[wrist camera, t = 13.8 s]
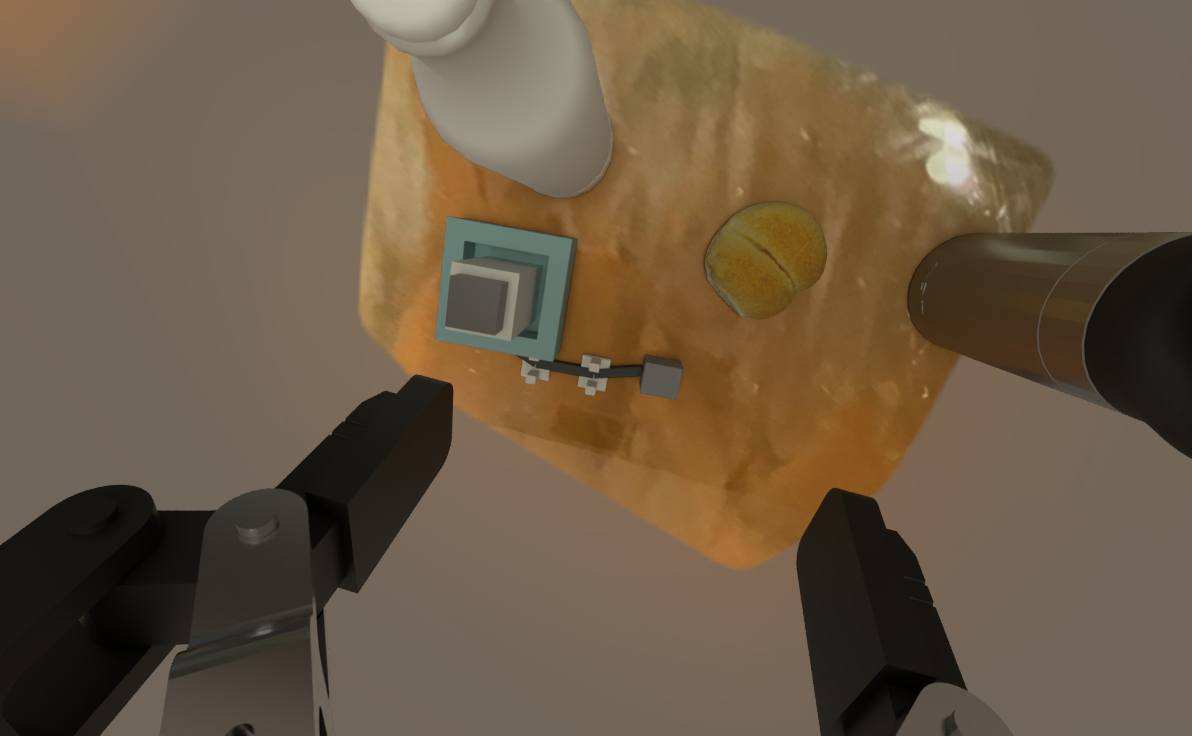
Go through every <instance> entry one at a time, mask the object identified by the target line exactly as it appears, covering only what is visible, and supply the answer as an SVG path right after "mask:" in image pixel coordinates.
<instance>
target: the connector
mask: <svg viewBox="0 0 1192 736" xmlns="http://www.w3.org/2000/svg"><path fill="white" fill-rule="evenodd" d="M542 270H543V266H542V265H536V264H531V263H525V262H520V261H514V260H509V259H503V258H498V257H492V256H485V257H478V258H471V259H465V260H458V261H452V263H451V273H450V281H449V291H448V301H447V311H446V321H445V329H447V330H453V331H458V332H464V333H469V334H474V335H480V336H485V337H491V338H496V339H502V340H507V341H512V340H513V339H514V338H515V337H516V336H517V335H519V334H520V333H521V332H522V331H523V330H524V329H525V328H527V327H528V326H529V325H530V324H531V323H532V322H534V321H535V318H536V311H537V305H538V298H539V291H540V284H541V277H542Z"/></svg>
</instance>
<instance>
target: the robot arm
mask: <svg viewBox="0 0 1192 736" xmlns="http://www.w3.org/2000/svg"><path fill="white" fill-rule="evenodd" d="M908 307H909V311H910V316H911V319H912V321H913V323H914V325H915V327H916V329H917V330H918V331H919V332H920V333H921V334H922V335H923V337H925V338H926V339H928V340H929V341H930V342H932V343H933V344H936V345H938V346H941V347H943V348H946V349H948V350H951V351H954V352H956V353H959V354H962V355H964V356H966V357H970V358H972V359H975V360H977V361H980V362H983V363H985V364H988V365H991V366H994V367H996V368H999V369H1002V370H1004V371H1007V372H1010V373H1013V374H1015V375H1018V376H1021V377H1023V378H1026V379H1029V380H1031V381H1034V382H1037V383H1040V384H1042V385H1045V386H1048V387H1050V388H1053V389H1056V390H1059V391H1061V392H1064V393H1067V394H1069V395H1072V396H1075V397H1078V398H1081V399H1084V400H1087V401H1089V402H1092V403H1095V404H1097V405H1100V406H1103V407H1106V408H1108V409H1111V410H1114V411H1117V412H1119V413H1122V414H1125V415H1128V416H1130V417H1133V418H1135V419H1138V420H1141V421H1143V422H1145V423H1147V424H1148V425H1149V426H1150V427H1151V428H1152V429H1153V430H1154V431H1155V432H1157V433H1158V434H1159V435H1160V436H1161V437H1162V438H1163V439H1164V440H1165V441H1167V442H1168V443H1169V444H1170V445H1172V446H1173V447H1174V448H1176V449H1177V450H1178V451H1180V452H1182V453H1183V454H1184V455H1186V456H1188V457H1189V458H1191V459H1192V232H1149V233H971V234H966V235H962V236H958V237H955V238H953V239H951V240H949V241H946V242H944V243H943V244H942V245H940V246H939V247H937V248H936V249H934V250H933V251H932V252H931V253H930V254H929V255H928V256H927V257H926V258H925V259H924V260H923V262H922V263H921V264H920V266H919V267H918V269H917V270H916V272H915V274H914V277H913V279H912V281H911V285H910V289H909V294H908ZM452 416H453V386H452V384H451V383H448V382H444V381H440V380H436V379H433V378H429V377H425V376H422V375H414V376H413V377H412V378H411V379H410V380H409V381H408V382H407V383H406V384H405V385H404V386H403V387H402V388H401V390H399V392H398V393H397V394H395V393H392V392H388V391H384V392H382V393H380V394H378V395H376V396H374V397H372V398H370V399H368V400H366V401H364V402H362V403H361V404H360V405H359V406H358V407H357V408H356V409H355V410H354V411H353V412H352V413H351V414H350V415H349V416H348V417H347V418H346V420H345V422H342V423H341V424H339V425H338V427H337V428H335V429H334V430H333V432H332V435H328V436H327V437H326V438H325V439H324V440H323V441H322V442H321V443H320V444H319V445H318V446H317V447H316V448H315V449H314V450H313V451H312V452H311V453H310V454H309V455H308V456H307V457H306V458H305V459H304V460H303V461H302V462H301V463H300V464H299V465H298V466H297V467H296V468H295V469H294V470H293V471H292V472H291V473H290V474H289V475H288V476H287V477H286V478H285V479H284V480H283V481H282V482H281V483H280V484H279V485H278V486H277V487H275V488H274V489H260V490H256V491H251V492H248V493H245V494H242V495H240V496H238V497H236V498H233V499H232V500H230V501H228V502H227V503H225V504H224V505H223V506H221V507H220V508H219V509H218V510H214V511H159V510H158V511H157V509H156V506H155V504H154V501H153V499H152V497H151V495H150V494H149V493H148V492H147V491H145V490H143V489H141V488H139V487H136V486H130V485H110V486H104V487H98V488H94V489H90V490H87V491H84V492H81V493H78V494H76V495H74V496H71V497H69V498H67V499H65V500H63V501H62V502H60V503H58V504H56V505H55V506H53V507H52V508H50V509H49V510H47V511H46V512H45V513H43V514H42V515H41V516H39V517H38V518H37V519H35V520H34V521H33V522H31V523H30V524H29V525H27V526H26V527H25V528H23V529H22V530H20V531H19V532H18V533H17V534H15V535H14V536H12V537H11V538H10V539H8V540H7V541H6V542H4V543H3V544H2V545H0V736H100V735H101V733H102V732H103V731H104V730H105V729H106V728H107V726H108V725H109V724H110V723H111V721H112V720H113V719H114V718H115V717H116V716H117V715H118V713H119V712H120V711H121V710H122V709H123V707H124V706H125V705H126V704H127V703H128V701H129V700H130V699H131V698H132V697H133V695H134V694H135V693H136V692H137V691H138V689H139V688H140V687H141V685H143V684H144V682H145V681H146V680H147V679H148V678H149V676H150V675H151V674H152V673H153V672H154V670H155V669H156V668H157V667H158V666H159V664H160V663H161V662H162V661H163V660H164V658H165V657H166V656H167V655H168V654H169V652H170V651H171V650H172V649H173V647H175V645H179V644H189V645H188V648H187V650H185V651H182V652H179V653H177V654H176V656H175V658H174V660H173V662H172V665H171V669H170V673H169V678H168V684H167V690H166V698H165V704H164V710H163V717H162V723H161V730H160V736H335V728H334V720H333V710H332V698H331V683H330V670H329V655H328V641H327V628H326V613H325V605H326V603H327V602H328V600H329V599H330V598H331V596H332V595H333V593H334V592H335V591H336V589H337V588H342V589H345V590H348V591H351V592H355V593H358V592H359V590H360V589H361V588H362V586H363V585H364V583H365V582H366V580H367V579H368V577H369V576H370V574H371V573H372V571H373V570H374V568H375V567H376V565H377V564H378V562H379V561H380V559H381V558H382V556H383V555H384V553H385V552H386V550H387V549H388V547H389V546H390V544H391V543H392V541H393V540H394V538H395V537H396V535H397V534H398V532H399V531H400V529H401V528H402V526H403V525H404V523H405V522H406V520H407V518H408V517H409V516H410V514H411V513H412V511H413V510H414V508H415V507H416V505H417V504H418V502H419V501H420V499H421V498H422V496H423V495H424V493H425V492H426V490H427V489H428V487H429V486H430V484H431V483H432V481H433V479H434V478H435V477H436V475H437V474H438V472H439V471H440V469H441V468H442V466H443V464H444V462H445V460H446V458H447V456H448V452H449V449H450V446H451V440H452ZM796 564H797V574H798V580H799V587H800V594H801V601H802V607H803V615H804V622H805V629H806V636H807V642H808V650H809V656H810V663H811V670H812V677H813V684H814V691H815V698H816V705H817V712H818V719H819V725H820V732H821V736H1013V734H1012V733H1011V731H1010V730H1009V728H1008V727H1007V726H1006V725H1005V723H1004V722H1003V721H1002V720H1001V718H1000V717H999V716H998V715H997V714H996V713H995V712H994V711H993V710H992V709H991V708H990V707H989V706H988V705H986V704H985V703H984V702H983V701H981V700H980V699H979V698H977V697H976V696H975V695H973V694H971V693H970V692H968V690H967V688H966V686H965V683H964V680H963V678H962V675H961V672H960V670H959V667H958V665H957V662H956V659H955V657H954V654H953V652H952V649H951V646H950V644H949V641H948V639H947V636H946V633H945V631H944V628H943V626H942V623H941V620H940V618H939V615H938V612H937V610H936V608H935V607H933V599H932V597H931V594H930V592H929V589H928V587H927V586H925V578H924V576H923V573H922V571H921V568H920V565H919V563H918V560H917V557H916V555H915V554H914V553H913V552H912V550H911V549H910V548H909V546H908V545H907V544H906V543H905V542H904V540H903V539H902V538H901V536H900V535H899V534H898V532H897V531H893V530H890V529H886V526H885V524H884V521H883V518H882V515H881V512H880V509H879V506H878V504H877V502H876V500H875V499H874V498H871V497H867V496H864V495H860V494H856V493H853V492H849V491H845V490H841V489H838V488H833V489H831V490H830V491H829V492H828V493H827V495H826V496H825V498H824V500H823V501H822V503H821V505H820V507H819V508H818V510H817V512H816V513H815V515H814V517H813V519H812V520H811V522H810V524H809V525H808V527H807V529H806V531H805V532H804V534H803V536H802V538H801V540H800V543H799V547H798V552H797V563H796Z"/></svg>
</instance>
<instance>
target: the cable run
mask: <svg viewBox="0 0 1192 736" xmlns="http://www.w3.org/2000/svg"><path fill="white" fill-rule="evenodd" d="M516 356H518V357H519V358H521V359H522V360H523V362H522V369H521V376H524V377H526V382H525V383H529V384H534V385H535V384H536V382H537V381H538V379H540V380H546V381H548V380H549V376H550V371H555V372H560V373H566V374H571V375H576V376H579V381H578V387H583V388H586V390H585V394H587V395H592V396H594V395H595V391H596V390H599V391H604V392H605V389H606V384H607V378H618V377H637V376H641V379H640V393H642V394H648V395H653V396H658V397H664V398H669V399H674V400H676V399H677V395H678V390H679V386H680V381H681V377H682V372H683V368H682V365H681V362H680V361H677V360H671V359H666V358H660V357H655V356H650V355H645V359H644V364H643V369H642V365H628V366H610V362H611V359H609V358H604V357H599V356H593V355H588V354H583V358H582V363H581V365H580V364H575V363H569V362H564V361H559V360H554V361H553V362H551V361H546V360H540V359H535V358H530V357H524V356H519V355H516Z"/></svg>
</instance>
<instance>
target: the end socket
mask: <svg viewBox="0 0 1192 736" xmlns="http://www.w3.org/2000/svg"><path fill="white" fill-rule="evenodd" d="M577 241H578V239H576V238H571V237H565V236H559V235H554V234H548V233H543V232H537V231H532V230H526V229H521V228H515V227H510V226H504V225H499V224H493V223H488V222H482V221H476V220H471V219H465V218H456V217H447V223H446V233H445V243H444V253H443V263H442V273H441V284H440V294H439V304H438V314H437V324H436V335H435V340H439V341H444V342H449V343H455V344H460V345H465V346H471V347H476V348H482V349H487V350H492V351H498V352H503V353H508V354H514V355H519V356H524V357H530V358H535V359H540V360H546V361H551V362H553V361H554V359H555V358H556V356H557V355H558V353H559V352H560V347H561V341H562V334H563V328H564V322H565V316H566V309H567V303H568V297H569V291H570V285H571V278H572V272H573V266H574V260H575V253H576V247H577ZM485 256H492V257H498V258H503V259H509V260H514V261H520V262H525V263H531V264H536V265H542V266H543V270H542V277H541V284H540V291H539V298H538V305H537V311H536V318H535V321H534V322H532V323H531V324H530V325H529V326H528V327H527V328H525V329H524V330H523V331H522V332H521V333H520V334H519V335H517V336H516V337H515V338H514V339H513V340H512V341H507V340H502V339H496V338H491V337H485V336H480V335H474V334H469V333H464V332H458V331H453V330H447V329H445V321H446V311H447V301H448V291H449V281H450V273H451V263H452V261H458V260H465V259H471V258H478V257H485Z"/></svg>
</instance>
